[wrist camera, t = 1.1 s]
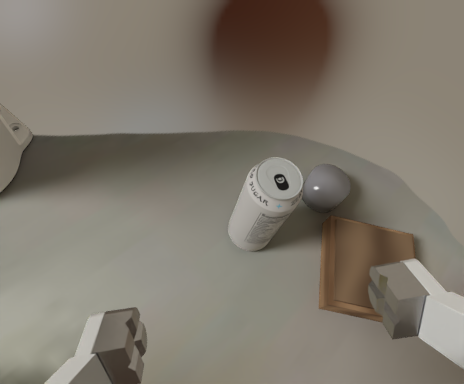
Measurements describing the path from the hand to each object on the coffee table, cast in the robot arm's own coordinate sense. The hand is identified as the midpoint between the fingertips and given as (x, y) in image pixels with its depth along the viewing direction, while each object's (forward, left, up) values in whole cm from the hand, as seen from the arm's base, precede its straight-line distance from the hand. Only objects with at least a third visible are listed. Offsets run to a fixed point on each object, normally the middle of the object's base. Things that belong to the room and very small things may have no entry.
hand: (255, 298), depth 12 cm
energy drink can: (-7, +14, -31) cm, 34 cm away
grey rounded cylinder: (-5, +27, -30) cm, 41 cm away
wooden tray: (+7, +23, -30) cm, 39 cm away
